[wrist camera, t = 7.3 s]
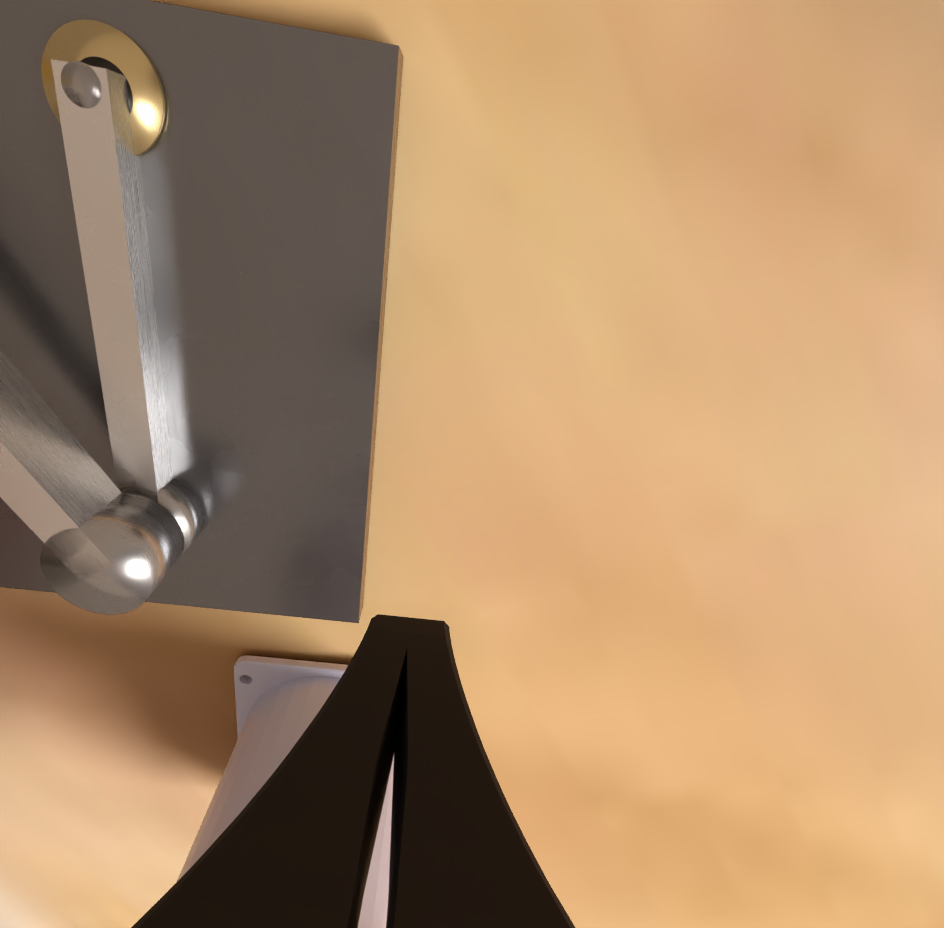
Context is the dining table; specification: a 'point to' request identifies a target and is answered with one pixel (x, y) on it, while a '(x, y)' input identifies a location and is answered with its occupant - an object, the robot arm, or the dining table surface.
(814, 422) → the dining table surface
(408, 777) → the robot arm
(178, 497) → the plate
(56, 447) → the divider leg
